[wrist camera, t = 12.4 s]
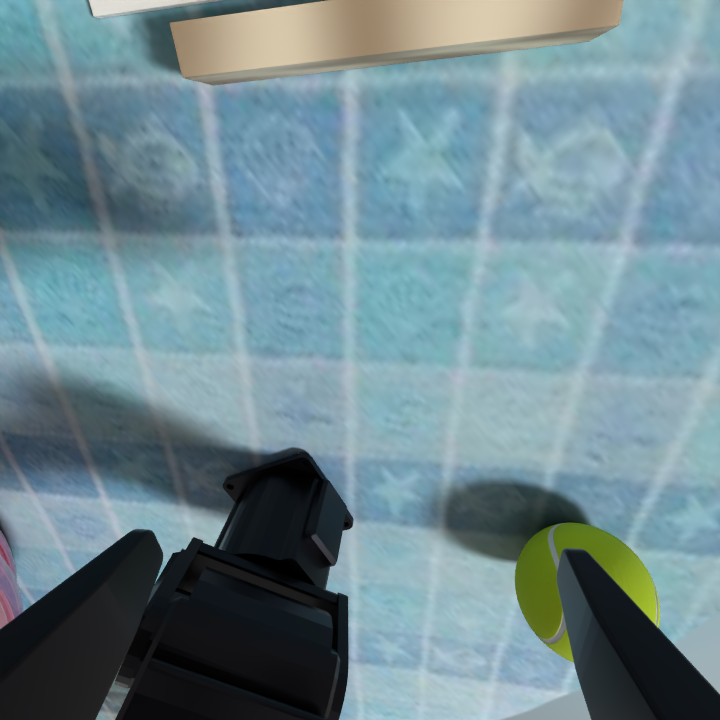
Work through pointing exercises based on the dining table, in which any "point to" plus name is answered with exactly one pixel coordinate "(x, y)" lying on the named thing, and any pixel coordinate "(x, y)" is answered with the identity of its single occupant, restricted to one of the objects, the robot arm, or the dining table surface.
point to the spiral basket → (8, 585)
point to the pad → (136, 6)
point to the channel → (377, 34)
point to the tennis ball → (541, 578)
